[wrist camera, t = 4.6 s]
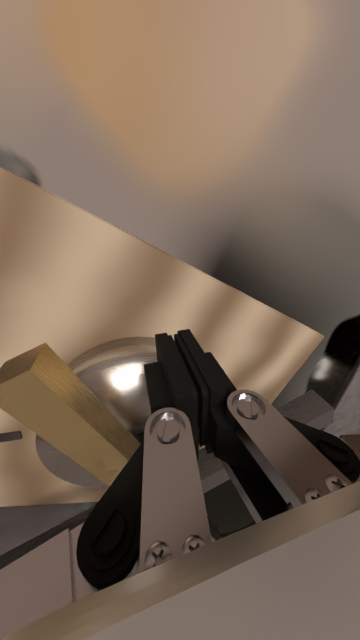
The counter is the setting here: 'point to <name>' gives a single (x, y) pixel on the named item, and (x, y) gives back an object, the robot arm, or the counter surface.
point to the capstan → (102, 417)
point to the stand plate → (115, 315)
